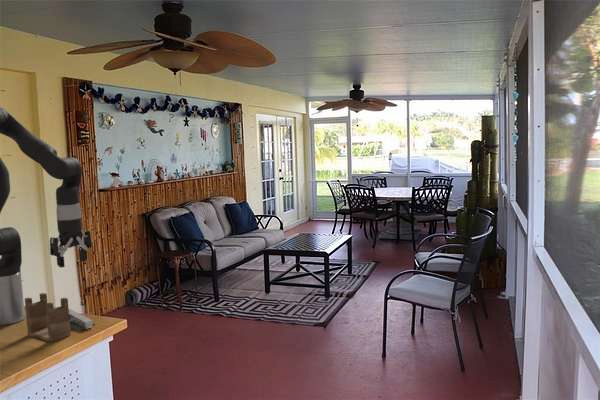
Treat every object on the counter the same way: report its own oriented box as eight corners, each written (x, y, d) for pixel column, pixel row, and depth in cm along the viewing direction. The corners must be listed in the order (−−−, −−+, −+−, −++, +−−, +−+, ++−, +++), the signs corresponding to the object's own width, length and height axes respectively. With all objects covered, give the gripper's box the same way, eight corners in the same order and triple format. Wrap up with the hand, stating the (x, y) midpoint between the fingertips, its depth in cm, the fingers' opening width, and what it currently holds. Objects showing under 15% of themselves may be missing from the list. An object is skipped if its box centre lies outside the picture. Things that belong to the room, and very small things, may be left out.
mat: (60, 325, 174) (60, 324, 173) (75, 319, 179) (75, 318, 179) (79, 330, 169) (79, 329, 169) (94, 324, 174) (94, 323, 174)
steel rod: (63, 317, 177) (63, 310, 177) (69, 315, 179) (69, 308, 179) (86, 329, 169) (86, 322, 169) (92, 327, 171) (92, 320, 171)
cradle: (28, 334, 166) (24, 298, 164) (46, 328, 171) (42, 292, 170) (52, 342, 160) (49, 304, 158) (70, 335, 165) (67, 298, 163)
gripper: (80, 213, 176) (83, 258, 179) (42, 219, 164) (46, 267, 166) (94, 214, 173) (97, 260, 175) (57, 221, 160) (61, 270, 163)
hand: (72, 264), depth 171 cm, fingers open, 8 cm apart
